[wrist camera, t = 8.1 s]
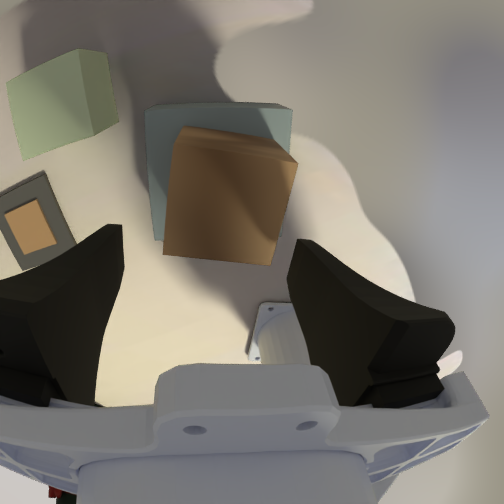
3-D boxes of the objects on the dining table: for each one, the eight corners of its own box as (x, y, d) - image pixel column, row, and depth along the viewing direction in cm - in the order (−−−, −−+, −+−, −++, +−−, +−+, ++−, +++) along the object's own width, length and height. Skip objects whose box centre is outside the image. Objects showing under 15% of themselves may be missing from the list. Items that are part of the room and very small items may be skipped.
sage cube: (107, 53, 15) (78, 48, 11) (119, 121, 18) (94, 135, 14) (44, 77, 15) (5, 82, 11) (57, 141, 17) (23, 161, 13)
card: (45, 173, 18) (42, 175, 18) (80, 251, 22) (78, 254, 22) (-10, 202, 18) (-13, 204, 18) (23, 268, 22) (21, 272, 22)
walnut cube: (274, 139, 16) (298, 163, 12) (255, 219, 19) (270, 265, 15) (183, 125, 15) (173, 144, 11) (172, 209, 18) (162, 254, 13)
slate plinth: (277, 103, 19) (292, 109, 15) (270, 210, 23) (281, 236, 20) (156, 104, 18) (144, 110, 14) (162, 213, 22) (154, 240, 19)
